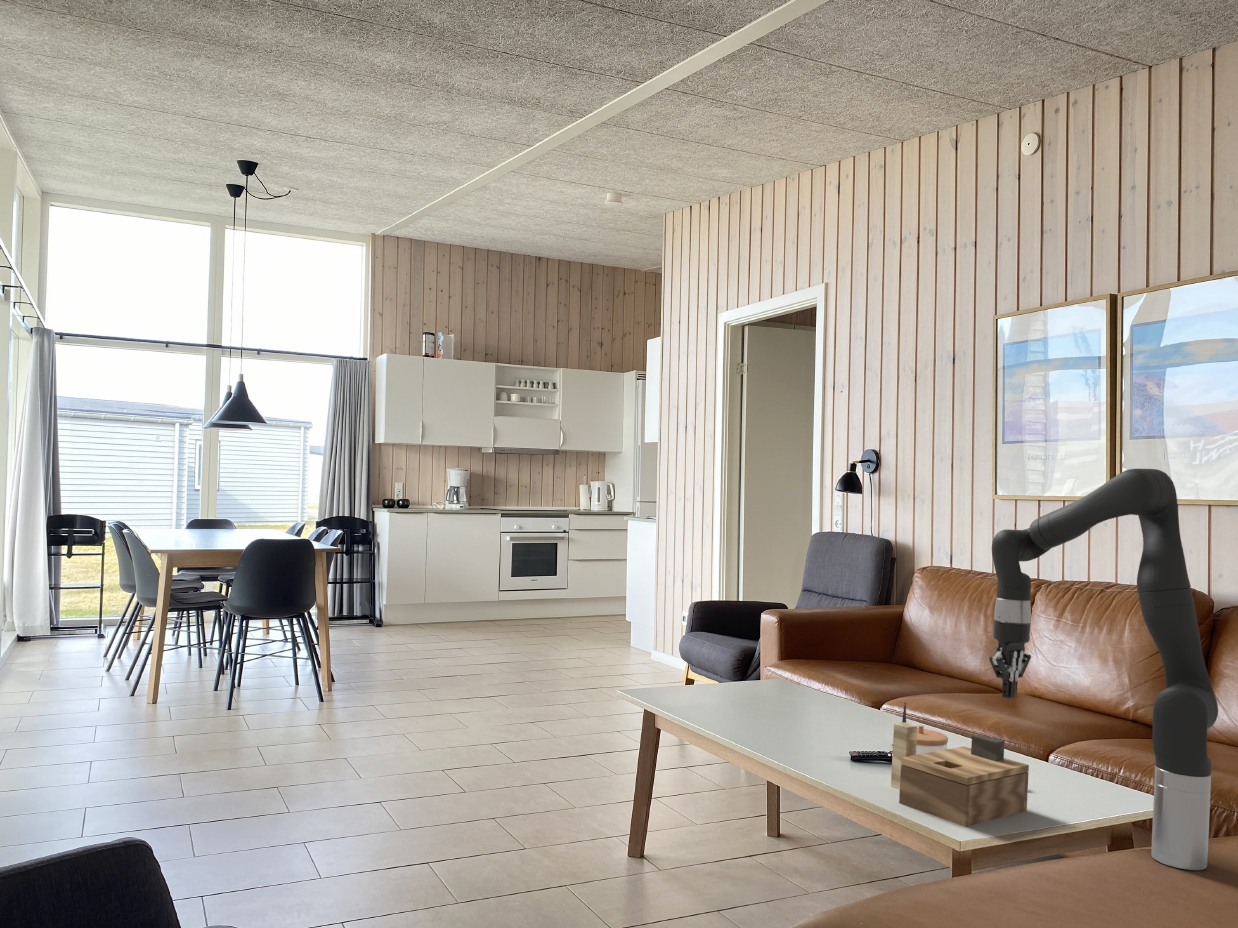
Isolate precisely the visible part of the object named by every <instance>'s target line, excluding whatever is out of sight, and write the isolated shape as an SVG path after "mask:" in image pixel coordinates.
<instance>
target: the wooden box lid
mask: <svg viewBox="0 0 1238 928" xmlns="http://www.w3.org/2000/svg"><path fill="white" fill-rule="evenodd" d="M970 747H971V748H970ZM970 747H967V746H959V747H952V748H947V749H946V750H941V751H935V752H930V753H924V754H918V755H913V756H907V757H902V758H901V764H902V765H905V766H908V767H912V768H915V769H918V770H921V771H924V772H927V773H930V774H933V775H937V776H940V777H943V778H946V779H949V780H952V781H955V782H959V783H962V784H965V785H969V784H974V783H979V782H983V781H988V780H992V779H997V778H1002V777H1006V776H1011V775H1015V774H1020V773H1025V772H1028V773H1029V772H1030V771H1029V770H1030V765H1029V764H1026V763H1024V762H1019V761H1016V760H1013V759H1009V758H1006V757H1005V740H1001V739H998V738H995V737H991V736H986V735H983V734H975V735H971V746H970Z"/></svg>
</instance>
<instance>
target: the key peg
mask: <svg viewBox="0 0 1238 928" xmlns="http://www.w3.org/2000/svg"><path fill="white" fill-rule="evenodd" d="M917 728H918V725H915V724H912V723H908V722H906V723H905V722H903V723H902V722H897V723H893V734H892V735H893V738H892V739H893V740H892V744H893V747H892V751H893V752H892V756H891V757H892V760H891V776H890V777H891V778H890V787H891V788H894V789H897V790H900V775H901V765H902V764H901V758H902V757H907V756H913V755H916V745H917Z"/></svg>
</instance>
